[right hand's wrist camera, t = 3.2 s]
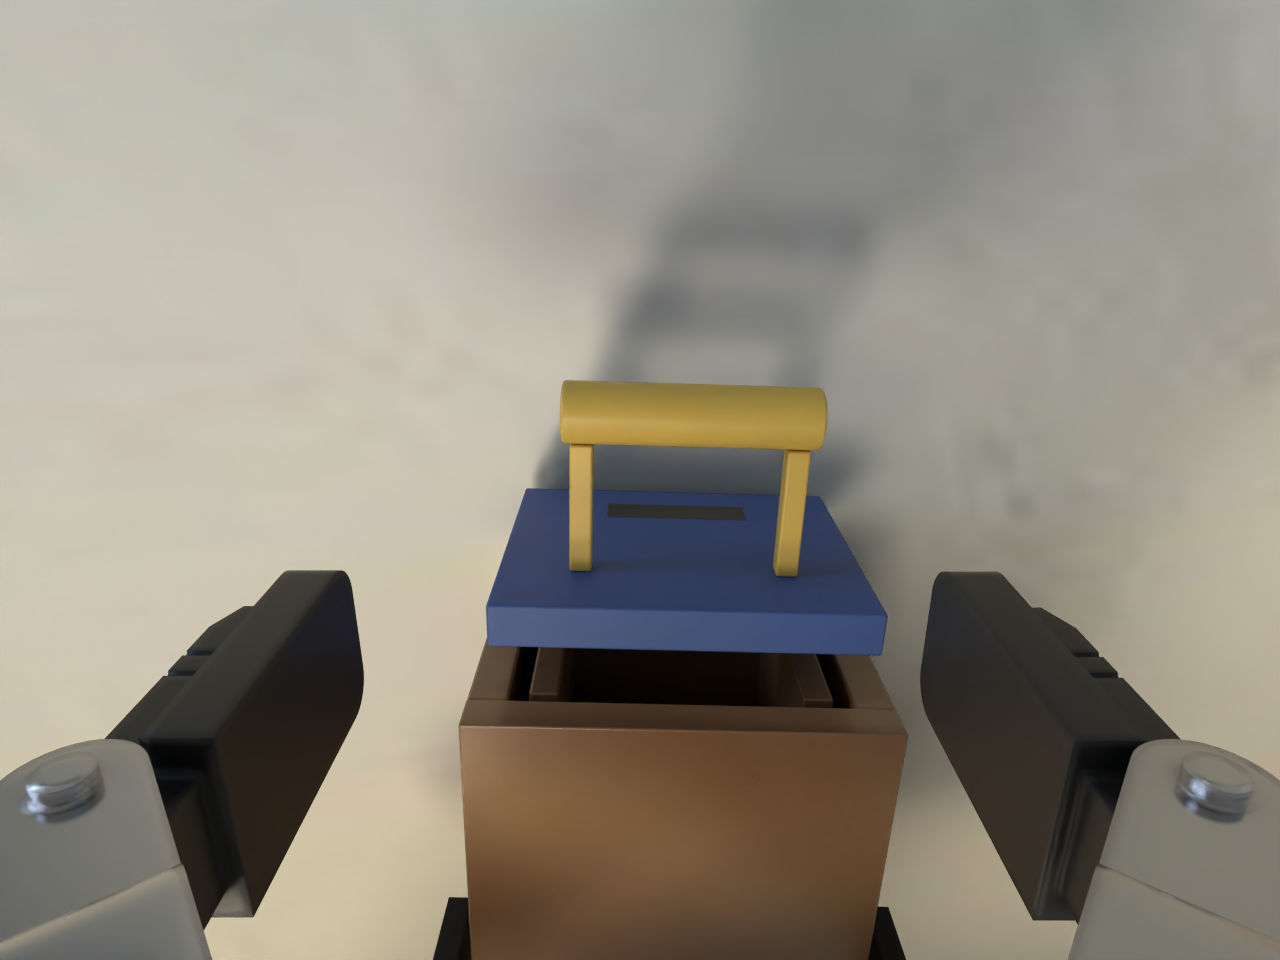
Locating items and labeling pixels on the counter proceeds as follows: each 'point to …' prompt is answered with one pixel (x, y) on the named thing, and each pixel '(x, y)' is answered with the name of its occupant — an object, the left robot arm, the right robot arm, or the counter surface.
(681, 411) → the drawer
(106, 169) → the counter surface
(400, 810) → the counter surface
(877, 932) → the left robot arm
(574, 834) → the cabinet
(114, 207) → the counter surface
